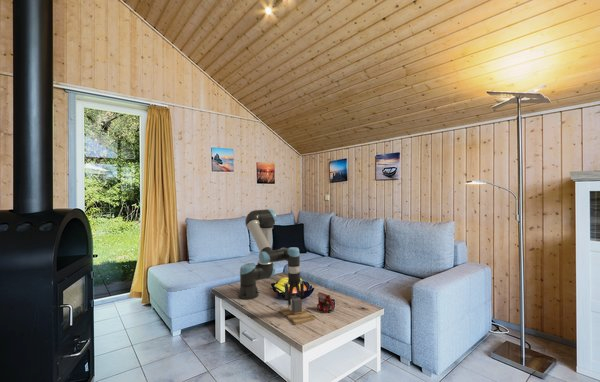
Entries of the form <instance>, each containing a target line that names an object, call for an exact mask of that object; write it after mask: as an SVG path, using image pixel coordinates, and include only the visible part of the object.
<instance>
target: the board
mask: <svg viewBox="0 0 600 382" xmlns="http://www.w3.org/2000/svg"><path fill="white" fill-rule="evenodd" d="M280 312H281V313H282V315H284V316H285V317H286V318H287V319H288V320H290V322H292V323H293V324H294V325H295V326H297V325H301V324H304V323H308V322H312V321H315V320H316V318H315V316H313V315H312V314H311V313H310V312H308V311H307V310H306V309H304V308H303V307H302V313H298V314H294V313H293V312H291V311H290V310H289V306H288V307H284V308H280Z"/></svg>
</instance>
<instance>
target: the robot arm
mask: <svg viewBox="0 0 600 382" xmlns="http://www.w3.org/2000/svg"><path fill="white" fill-rule="evenodd" d="M277 220H278V218H277V213H276V211H275V210H273V209H254V210H251V211H249V213H248V214H247V215H246V216H245V221H244V222H245V227H246V229H247V230H248V231H249V232H250V235H251V236H252V237H253V240H254V242H255V244H256V246H257V248H258V251H259V254H258V260H257V263H255V262H254V263H253V262H249V263H245V264H243V265H241V266H240V268H239V278H240V279H239V282H240V283H239V284H240V286H239V291H238V294H237V297H238V298H239V299H241V300H252V299H256V298H257V297H259V294H260V293H259V289H258V287H257V281H261V280H269V279H272V278H273V277H274V276H275V275H276V274H275V273H276V265H275V263H276V262H283V261H287V272H288V273H287V277H288V280H287V282H284V284H283V285H284V299H286V300H287V304H289V306H288V307H289V309H290V310H292V300H291V296H293V290H294V288H295V289H296V292H297V297H298V298H300V299H301V300H302V298H303V297H304V296H305V289H304V288H305V286H304V285H305V280H304V279H301V272H300V271H301V267H300V264H301V263H300V262H301V261H300V255H301V254H300V249H299V247H295V246H294V247H288V248H287V247H281V248H279V249H272V230H273V229H274V225H276V224H277V222H278V221H277Z"/></svg>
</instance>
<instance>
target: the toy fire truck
mask: <svg viewBox="0 0 600 382" xmlns="http://www.w3.org/2000/svg"><path fill="white" fill-rule="evenodd" d="M317 297H318V298H317V299H318V303H317V304H316V308H317V310H318V311H322V312H323V313H329V311H333V310H334V308H335V307H334V306H335V305H334V301H333V298H331V294H327V293H323V292H320V291H319V292H318V293H317Z"/></svg>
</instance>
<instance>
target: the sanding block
mask: <svg viewBox="0 0 600 382" xmlns="http://www.w3.org/2000/svg"><path fill="white" fill-rule="evenodd" d="M291 300H292V310H290V309H289V310H290V311H291V312H293V313H294V314H298V313H302V308H303V302H302V301H303V300H302V298H301V299H300V298H298V295H292V296H291ZM287 304H288V303H287ZM288 307H289V304H288Z"/></svg>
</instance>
